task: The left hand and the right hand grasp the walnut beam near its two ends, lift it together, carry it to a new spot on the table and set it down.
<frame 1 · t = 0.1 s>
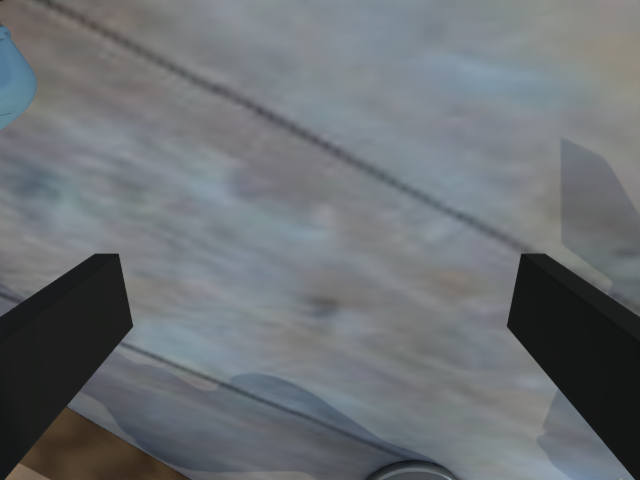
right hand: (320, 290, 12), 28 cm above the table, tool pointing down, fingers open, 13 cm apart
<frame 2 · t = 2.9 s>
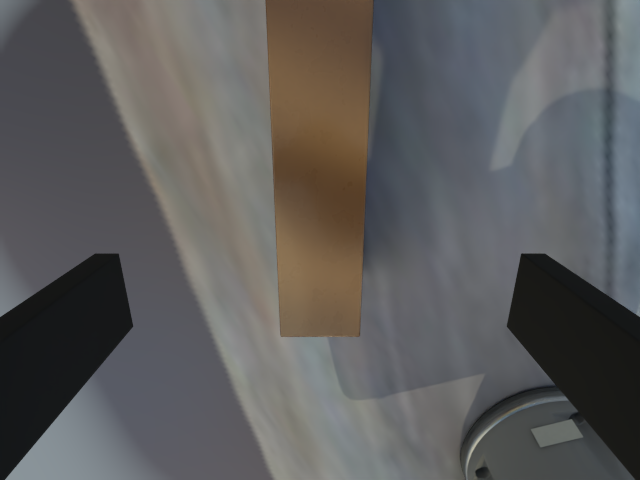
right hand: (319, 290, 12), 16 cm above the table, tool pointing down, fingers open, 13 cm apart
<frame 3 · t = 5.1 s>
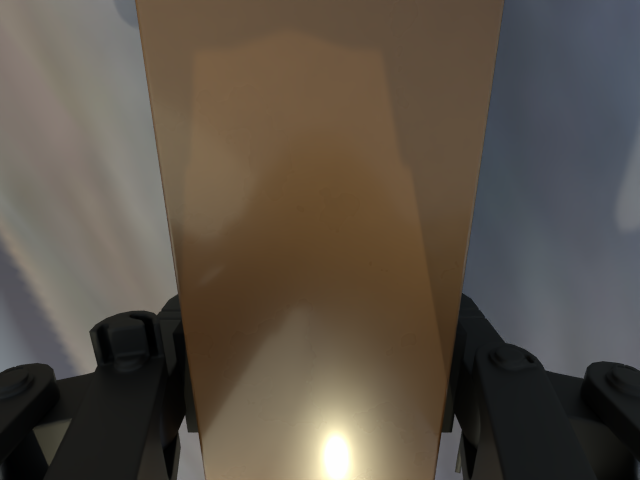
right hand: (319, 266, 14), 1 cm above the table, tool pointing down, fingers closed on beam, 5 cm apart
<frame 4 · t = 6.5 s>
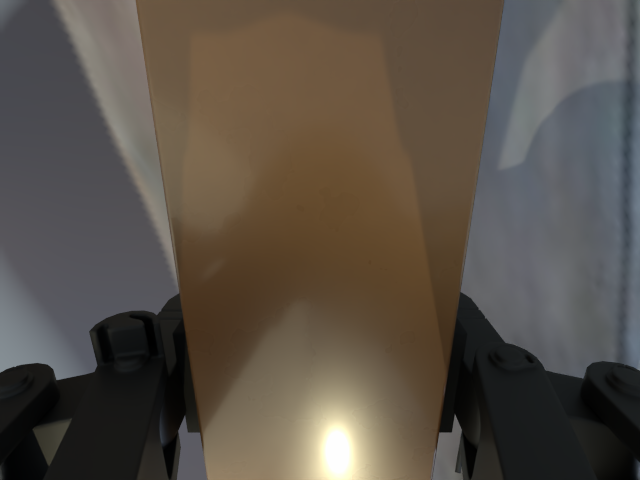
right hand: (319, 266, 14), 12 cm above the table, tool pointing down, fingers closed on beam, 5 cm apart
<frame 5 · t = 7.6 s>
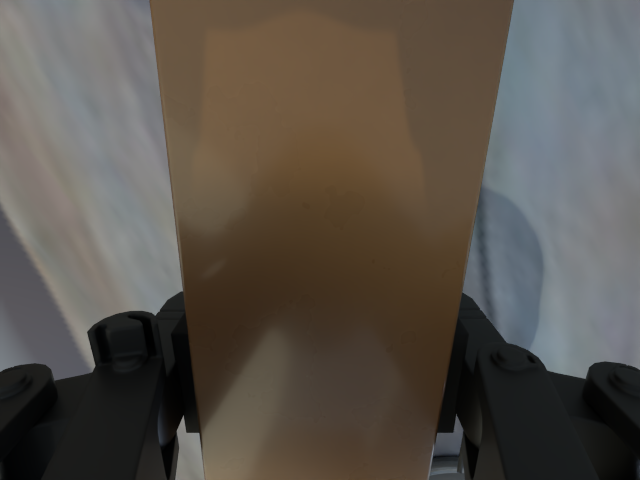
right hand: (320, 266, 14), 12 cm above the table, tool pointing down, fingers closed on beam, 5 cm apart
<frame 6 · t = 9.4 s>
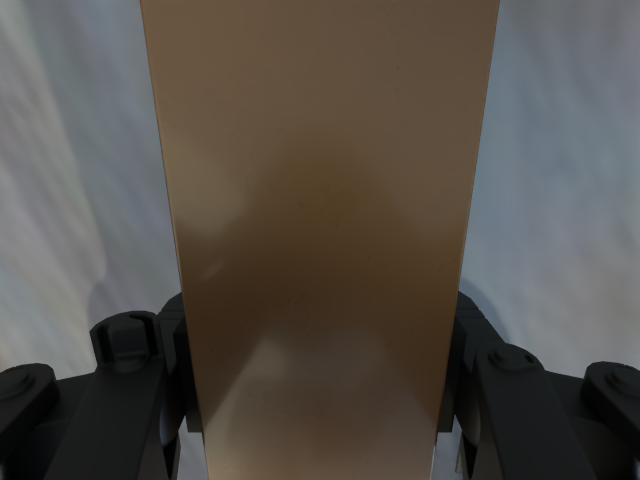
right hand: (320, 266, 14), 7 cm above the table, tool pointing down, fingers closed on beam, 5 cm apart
when the left hand's fingers open (2 cm above the table, at t = 10.4 s): beam drops 1 cm, on the table.
when the right hand's fingers open (2 cm above the table, at t = 10.4 s): beam drops 1 cm, on the table.
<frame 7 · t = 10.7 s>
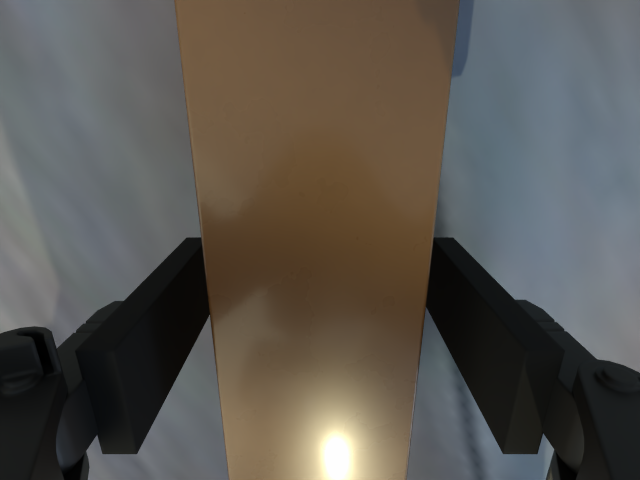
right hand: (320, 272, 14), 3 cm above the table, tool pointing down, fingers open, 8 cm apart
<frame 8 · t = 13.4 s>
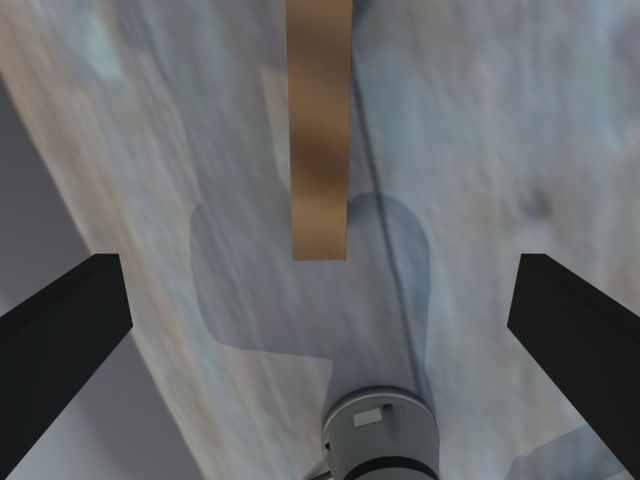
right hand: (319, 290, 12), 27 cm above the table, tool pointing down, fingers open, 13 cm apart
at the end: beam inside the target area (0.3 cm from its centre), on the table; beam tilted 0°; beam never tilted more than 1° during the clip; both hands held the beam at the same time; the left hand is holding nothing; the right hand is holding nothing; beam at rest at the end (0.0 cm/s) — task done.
